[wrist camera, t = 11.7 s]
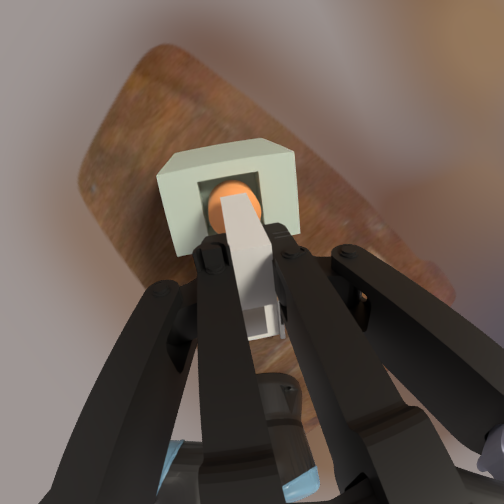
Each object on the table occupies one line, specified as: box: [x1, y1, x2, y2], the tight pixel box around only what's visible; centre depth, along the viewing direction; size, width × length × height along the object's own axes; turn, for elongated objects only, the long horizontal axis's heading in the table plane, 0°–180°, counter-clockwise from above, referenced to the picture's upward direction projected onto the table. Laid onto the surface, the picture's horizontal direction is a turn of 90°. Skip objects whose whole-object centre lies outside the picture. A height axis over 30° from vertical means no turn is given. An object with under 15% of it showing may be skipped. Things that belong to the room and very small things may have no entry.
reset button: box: [208, 180, 261, 234], centre depth 18 cm, size 3×3×2 cm
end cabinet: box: [156, 138, 300, 257], centre depth 23 cm, size 6×9×11 cm, turn 98°
